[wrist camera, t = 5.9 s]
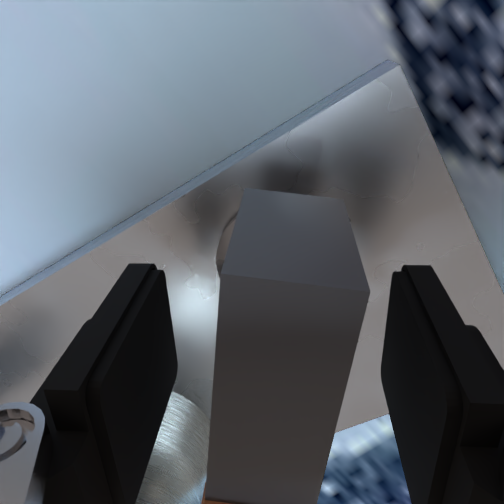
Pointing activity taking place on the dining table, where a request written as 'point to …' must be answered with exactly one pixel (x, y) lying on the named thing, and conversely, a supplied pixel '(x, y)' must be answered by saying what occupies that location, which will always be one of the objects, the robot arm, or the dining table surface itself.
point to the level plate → (216, 244)
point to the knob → (282, 347)
